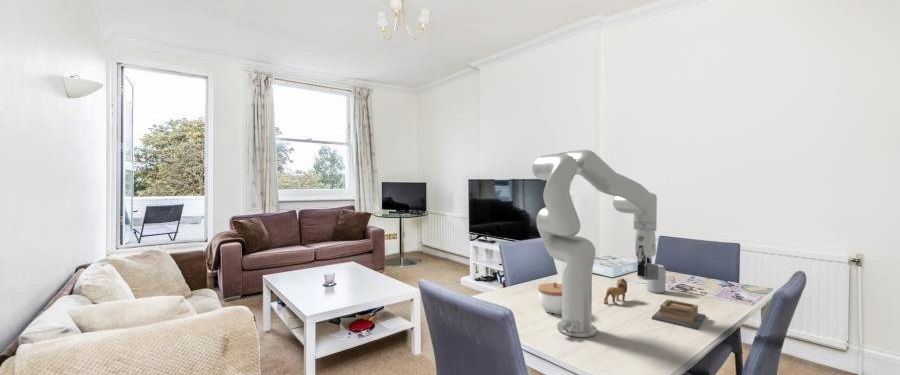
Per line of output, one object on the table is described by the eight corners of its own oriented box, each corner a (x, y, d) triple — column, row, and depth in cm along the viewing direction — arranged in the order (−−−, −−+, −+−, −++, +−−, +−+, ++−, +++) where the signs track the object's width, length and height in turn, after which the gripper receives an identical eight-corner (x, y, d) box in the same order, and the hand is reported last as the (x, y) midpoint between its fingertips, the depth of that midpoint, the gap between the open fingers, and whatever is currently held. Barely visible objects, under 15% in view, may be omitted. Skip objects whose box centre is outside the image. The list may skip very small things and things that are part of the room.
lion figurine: (617, 297, 161) (617, 276, 161) (630, 300, 157) (630, 278, 157) (600, 304, 152) (601, 282, 151) (613, 308, 148) (614, 285, 147)
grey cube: (650, 276, 141) (650, 262, 141) (658, 279, 136) (658, 265, 136) (637, 276, 141) (637, 263, 141) (644, 279, 136) (644, 266, 136)
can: (642, 290, 171) (643, 264, 171) (653, 288, 174) (654, 262, 174) (657, 294, 164) (658, 267, 164) (669, 292, 167) (669, 266, 167)
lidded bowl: (548, 318, 137) (548, 288, 136) (532, 307, 149) (532, 279, 148) (578, 315, 140) (579, 285, 140) (560, 304, 152) (560, 277, 152)
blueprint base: (697, 329, 126) (697, 316, 126) (651, 319, 136) (651, 306, 136) (705, 316, 138) (705, 304, 138) (663, 307, 148) (663, 296, 147)
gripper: (649, 229, 130) (649, 281, 130) (661, 224, 143) (661, 271, 143) (627, 227, 135) (626, 277, 135) (640, 223, 148) (640, 268, 148)
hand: (644, 274), depth 139 cm, fingers closed on grey cube, 5 cm apart
